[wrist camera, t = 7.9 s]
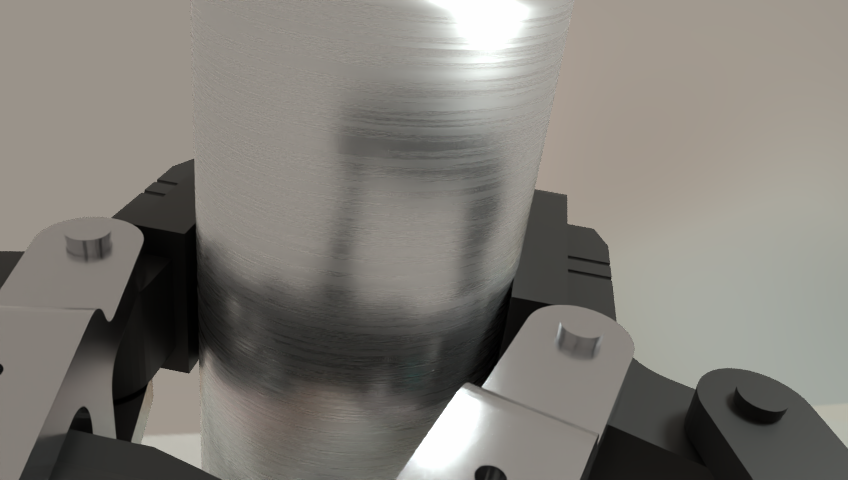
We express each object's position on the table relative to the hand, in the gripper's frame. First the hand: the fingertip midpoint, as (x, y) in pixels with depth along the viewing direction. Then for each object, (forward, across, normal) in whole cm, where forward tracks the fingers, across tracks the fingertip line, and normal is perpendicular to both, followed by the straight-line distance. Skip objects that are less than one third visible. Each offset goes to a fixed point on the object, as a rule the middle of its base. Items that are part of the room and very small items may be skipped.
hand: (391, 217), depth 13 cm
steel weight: (-3, 0, +6) cm, 6 cm away
